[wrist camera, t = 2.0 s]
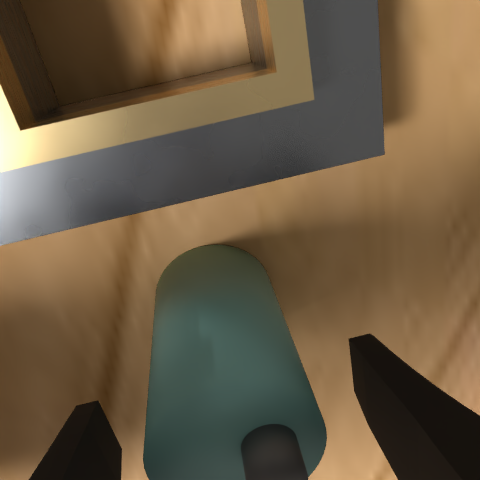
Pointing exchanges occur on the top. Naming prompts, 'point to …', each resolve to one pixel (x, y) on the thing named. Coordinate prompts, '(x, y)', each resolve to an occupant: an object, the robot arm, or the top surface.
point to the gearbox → (189, 120)
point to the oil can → (226, 377)
